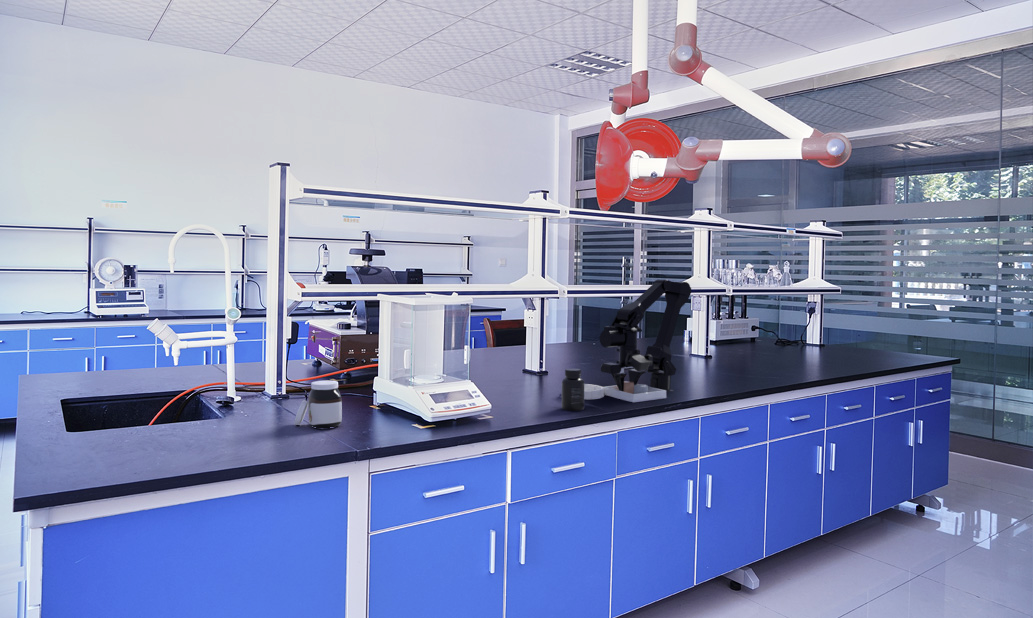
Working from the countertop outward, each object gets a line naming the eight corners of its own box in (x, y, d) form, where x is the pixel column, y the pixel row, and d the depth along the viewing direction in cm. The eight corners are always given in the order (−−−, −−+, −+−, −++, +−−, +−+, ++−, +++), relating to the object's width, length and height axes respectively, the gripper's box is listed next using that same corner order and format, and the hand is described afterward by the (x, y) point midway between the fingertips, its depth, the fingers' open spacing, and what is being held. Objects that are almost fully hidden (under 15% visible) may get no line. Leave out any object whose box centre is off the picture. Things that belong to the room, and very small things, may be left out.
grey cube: (641, 395, 218) (641, 383, 218) (650, 398, 214) (650, 386, 214) (631, 397, 215) (631, 385, 215) (640, 399, 212) (640, 387, 212)
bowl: (586, 392, 227) (586, 382, 227) (611, 398, 216) (611, 388, 215) (554, 395, 220) (555, 386, 220) (579, 402, 209) (579, 392, 208)
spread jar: (345, 428, 173) (345, 384, 172) (301, 434, 166) (300, 388, 166) (331, 419, 183) (331, 377, 182) (289, 424, 177) (288, 380, 176)
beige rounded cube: (627, 392, 223) (627, 380, 223) (636, 394, 220) (636, 382, 219) (617, 393, 221) (617, 381, 221) (626, 396, 217) (626, 383, 217)
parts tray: (634, 392, 228) (634, 383, 228) (666, 399, 215) (666, 390, 215) (602, 395, 220) (602, 386, 220) (633, 404, 207) (633, 394, 207)
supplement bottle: (586, 407, 201) (587, 368, 201) (581, 412, 195) (581, 371, 194) (564, 405, 204) (565, 367, 203) (558, 410, 197) (559, 370, 197)
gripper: (622, 350, 208) (621, 399, 209) (666, 346, 217) (664, 394, 218) (600, 346, 217) (599, 393, 218) (642, 343, 227) (641, 388, 228)
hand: (627, 392), depth 220 cm, fingers closed on beige rounded cube, 4 cm apart
